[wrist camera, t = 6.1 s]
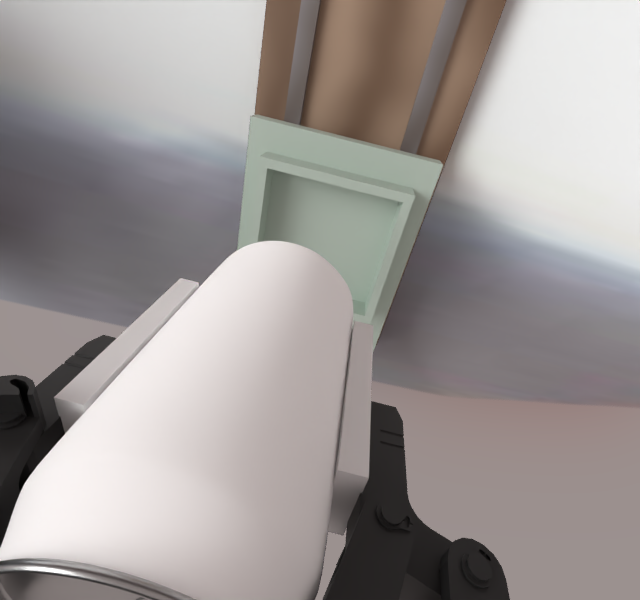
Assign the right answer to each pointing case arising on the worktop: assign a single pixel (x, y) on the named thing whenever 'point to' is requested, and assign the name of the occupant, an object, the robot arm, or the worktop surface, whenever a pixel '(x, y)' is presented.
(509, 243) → the worktop surface
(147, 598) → the can
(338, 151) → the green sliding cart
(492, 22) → the track
